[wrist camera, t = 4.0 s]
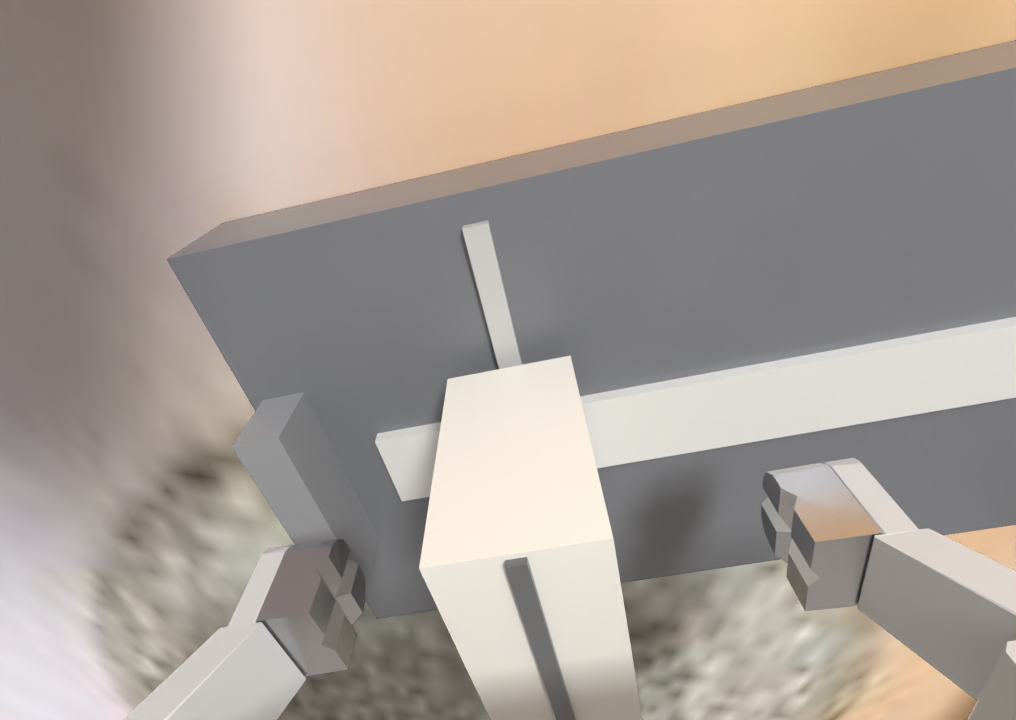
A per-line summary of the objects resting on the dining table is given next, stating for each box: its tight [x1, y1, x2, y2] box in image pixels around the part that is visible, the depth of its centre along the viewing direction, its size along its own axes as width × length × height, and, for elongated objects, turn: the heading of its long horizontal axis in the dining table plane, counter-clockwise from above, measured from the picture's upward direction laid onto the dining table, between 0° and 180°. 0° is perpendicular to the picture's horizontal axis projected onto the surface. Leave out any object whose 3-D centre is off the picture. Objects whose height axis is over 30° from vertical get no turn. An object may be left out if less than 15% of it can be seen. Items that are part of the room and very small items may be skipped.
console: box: [167, 40, 1016, 619], centre depth 12 cm, size 12×26×4 cm, turn 102°
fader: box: [419, 356, 643, 720], centre depth 10 cm, size 5×3×5 cm, turn 12°
